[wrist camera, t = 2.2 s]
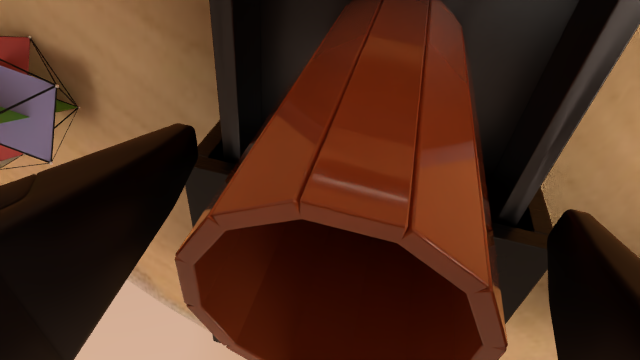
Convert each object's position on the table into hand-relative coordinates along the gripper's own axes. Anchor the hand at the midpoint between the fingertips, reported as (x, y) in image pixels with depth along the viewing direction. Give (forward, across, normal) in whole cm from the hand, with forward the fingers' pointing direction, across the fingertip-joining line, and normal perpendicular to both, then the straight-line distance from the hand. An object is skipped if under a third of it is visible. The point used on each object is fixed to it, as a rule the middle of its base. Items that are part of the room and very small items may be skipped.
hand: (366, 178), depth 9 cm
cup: (+7, 0, 0) cm, 7 cm away
